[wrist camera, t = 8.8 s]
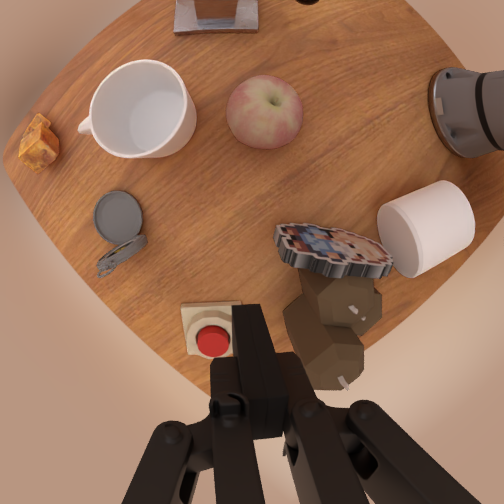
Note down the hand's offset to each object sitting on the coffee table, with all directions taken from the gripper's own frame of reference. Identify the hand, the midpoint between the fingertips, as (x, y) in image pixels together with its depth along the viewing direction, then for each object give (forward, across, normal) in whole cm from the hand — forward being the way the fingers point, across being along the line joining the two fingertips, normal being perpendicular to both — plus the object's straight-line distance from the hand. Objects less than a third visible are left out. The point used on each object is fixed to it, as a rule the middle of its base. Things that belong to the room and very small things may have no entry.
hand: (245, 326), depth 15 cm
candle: (+20, +13, -10) cm, 26 cm away
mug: (+21, -10, +13) cm, 26 cm away
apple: (+20, +4, +14) cm, 25 cm away
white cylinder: (+16, +21, -1) cm, 26 cm away
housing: (+20, -2, -14) cm, 25 cm away
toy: (+20, +12, 0) cm, 23 cm away
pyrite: (+21, -23, +13) cm, 34 cm away
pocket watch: (+21, -13, +1) cm, 24 cm away
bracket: (+20, -2, +28) cm, 35 cm away
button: (+18, -2, -14) cm, 22 cm away
